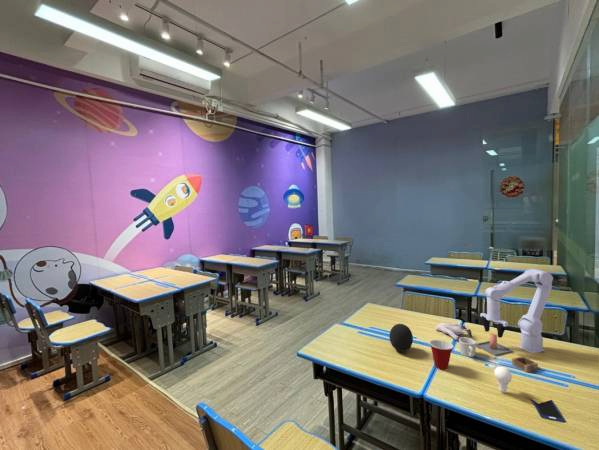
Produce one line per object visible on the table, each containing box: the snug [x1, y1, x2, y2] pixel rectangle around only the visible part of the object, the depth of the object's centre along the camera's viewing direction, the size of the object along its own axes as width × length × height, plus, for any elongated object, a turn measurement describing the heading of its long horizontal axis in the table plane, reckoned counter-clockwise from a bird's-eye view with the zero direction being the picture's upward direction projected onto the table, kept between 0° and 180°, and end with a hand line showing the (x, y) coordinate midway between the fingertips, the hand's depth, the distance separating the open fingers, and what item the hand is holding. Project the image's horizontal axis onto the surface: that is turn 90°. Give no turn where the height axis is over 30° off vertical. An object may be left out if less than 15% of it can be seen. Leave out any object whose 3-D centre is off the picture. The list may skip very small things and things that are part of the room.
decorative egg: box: [388, 323, 414, 352], centre depth 156 cm, size 12×12×15 cm
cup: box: [458, 336, 477, 358], centre depth 148 cm, size 11×8×8 cm
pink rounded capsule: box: [489, 333, 498, 350], centre depth 153 cm, size 3×3×8 cm
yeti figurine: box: [434, 322, 472, 343], centre depth 174 cm, size 20×7×20 cm
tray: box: [476, 340, 514, 357], centre depth 153 cm, size 12×12×2 cm
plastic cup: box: [428, 339, 454, 371], centre depth 139 cm, size 11×11×12 cm
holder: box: [511, 356, 539, 373], centre depth 136 cm, size 7×7×4 cm
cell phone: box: [530, 398, 566, 424], centre depth 110 cm, size 7×14×1 cm, turn 156°
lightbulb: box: [493, 366, 513, 394], centre depth 119 cm, size 6×6×11 cm
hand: (493, 334), depth 153 cm, fingers open, 7 cm apart
